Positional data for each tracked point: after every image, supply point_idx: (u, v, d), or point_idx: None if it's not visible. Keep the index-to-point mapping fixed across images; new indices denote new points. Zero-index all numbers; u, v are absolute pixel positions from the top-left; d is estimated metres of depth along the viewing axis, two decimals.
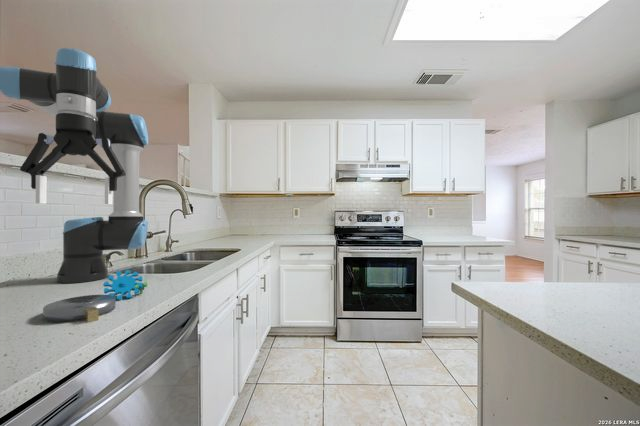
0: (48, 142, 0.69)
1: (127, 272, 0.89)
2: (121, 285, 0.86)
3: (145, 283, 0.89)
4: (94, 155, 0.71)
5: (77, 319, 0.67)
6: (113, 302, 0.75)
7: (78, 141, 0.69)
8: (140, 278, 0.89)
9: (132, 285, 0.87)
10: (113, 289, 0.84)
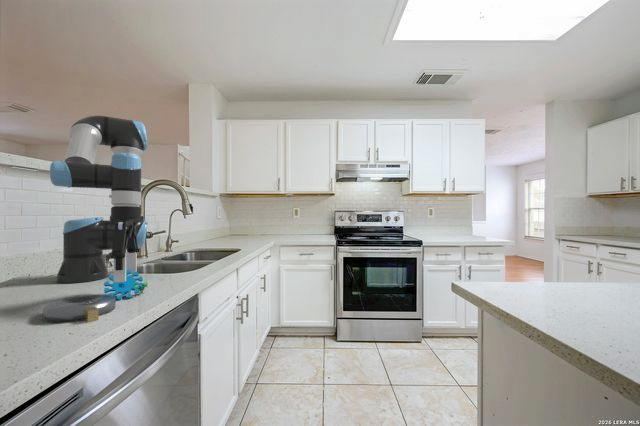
0: None
1: (127, 272, 0.89)
2: (121, 285, 0.86)
3: (145, 283, 0.89)
4: None
5: (77, 319, 0.67)
6: (113, 302, 0.75)
7: None
8: (140, 278, 0.89)
9: (132, 285, 0.87)
10: (113, 289, 0.85)
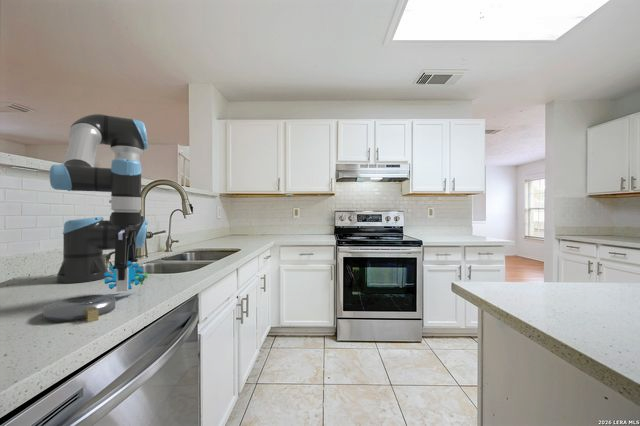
0: None
1: (128, 263, 0.90)
2: None
3: (145, 274, 0.89)
4: None
5: (77, 319, 0.67)
6: (113, 302, 0.75)
7: None
8: (140, 269, 0.90)
9: (132, 276, 0.88)
10: (113, 280, 0.85)
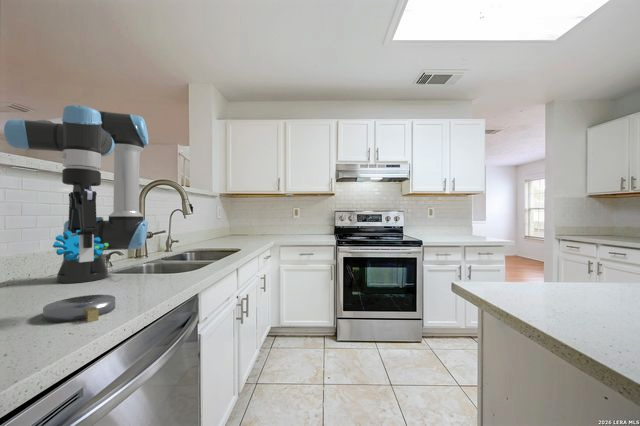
0: None
1: None
2: (78, 246, 0.72)
3: (106, 244, 0.77)
4: (79, 209, 0.70)
5: (77, 319, 0.67)
6: (113, 302, 0.75)
7: (73, 194, 0.71)
8: (98, 239, 0.77)
9: None
10: (69, 250, 0.70)
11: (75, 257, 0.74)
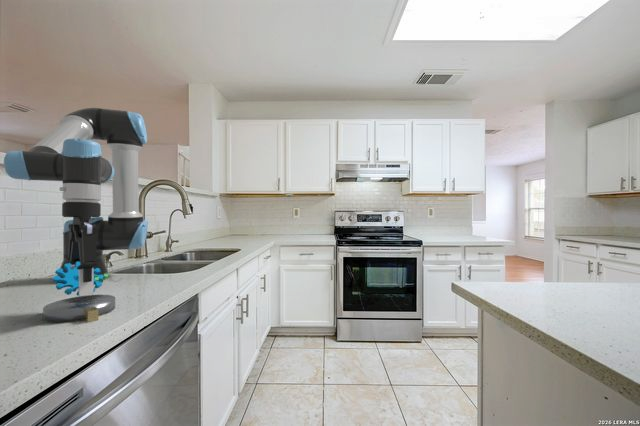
0: None
1: (78, 264, 0.75)
2: (78, 279, 0.72)
3: (106, 275, 0.77)
4: (79, 243, 0.70)
5: (77, 319, 0.67)
6: (113, 302, 0.75)
7: (73, 227, 0.71)
8: (97, 270, 0.77)
9: None
10: (69, 284, 0.70)
11: (75, 289, 0.74)
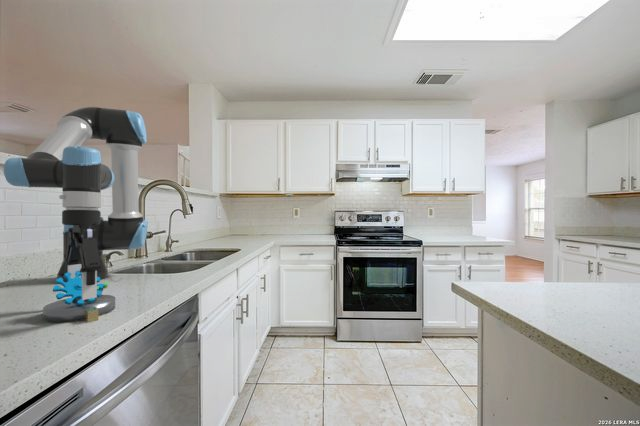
0: None
1: (78, 273, 0.75)
2: (78, 288, 0.72)
3: (106, 284, 0.77)
4: (80, 248, 0.70)
5: (77, 319, 0.67)
6: (113, 302, 0.75)
7: (73, 235, 0.71)
8: (97, 279, 0.77)
9: None
10: (69, 293, 0.70)
11: (75, 298, 0.74)
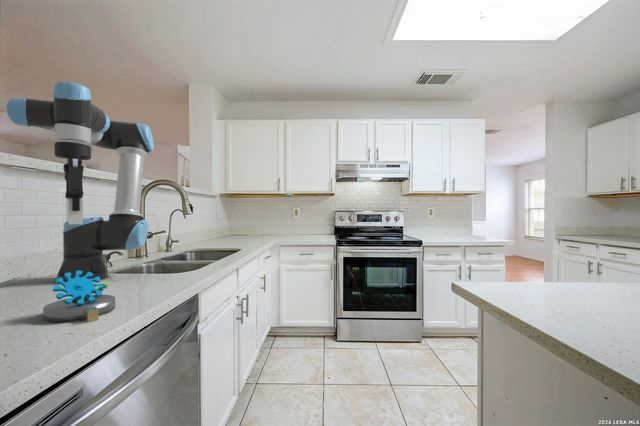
0: None
1: (79, 273, 0.75)
2: (78, 288, 0.72)
3: (106, 283, 0.77)
4: (68, 177, 0.74)
5: (77, 319, 0.67)
6: (113, 302, 0.75)
7: (64, 166, 0.76)
8: (98, 279, 0.77)
9: (91, 287, 0.74)
10: (69, 293, 0.70)
11: None
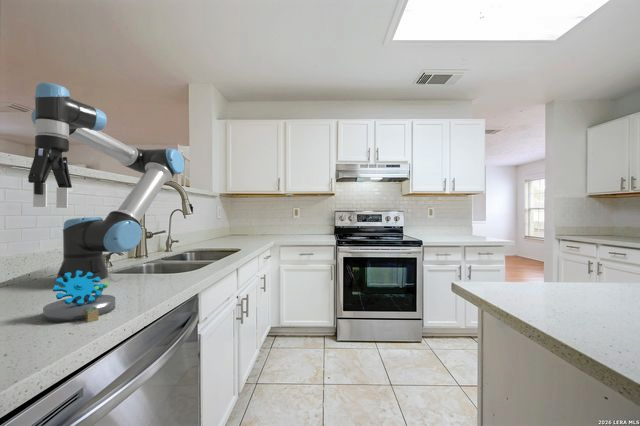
0: None
1: (79, 273, 0.75)
2: (78, 288, 0.72)
3: (106, 283, 0.77)
4: None
5: (77, 319, 0.67)
6: (113, 302, 0.75)
7: None
8: (98, 279, 0.77)
9: (91, 287, 0.74)
10: (69, 293, 0.70)
11: (75, 298, 0.74)
